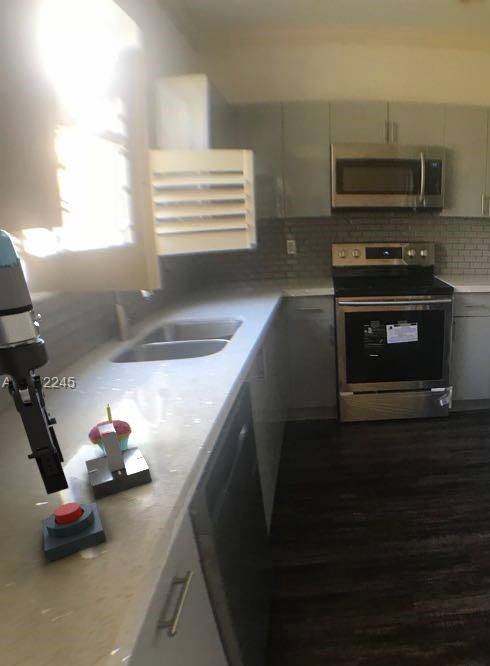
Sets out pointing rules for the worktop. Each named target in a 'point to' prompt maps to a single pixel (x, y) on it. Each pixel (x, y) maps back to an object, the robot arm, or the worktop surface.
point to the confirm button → (68, 513)
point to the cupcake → (120, 427)
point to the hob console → (118, 473)
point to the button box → (73, 533)
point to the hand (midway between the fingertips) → (56, 476)
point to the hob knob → (111, 447)
